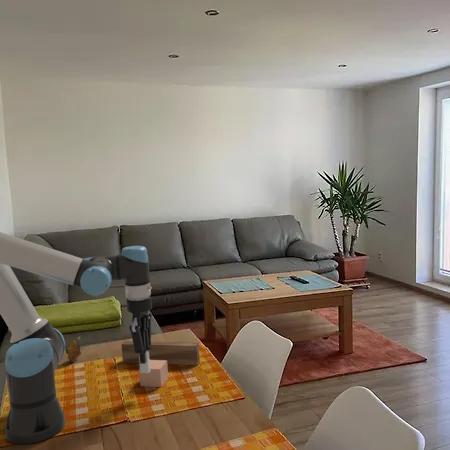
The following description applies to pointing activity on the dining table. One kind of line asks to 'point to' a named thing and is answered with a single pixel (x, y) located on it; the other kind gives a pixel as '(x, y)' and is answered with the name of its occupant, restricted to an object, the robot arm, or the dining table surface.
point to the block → (155, 374)
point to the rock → (73, 350)
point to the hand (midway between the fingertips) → (145, 371)
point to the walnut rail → (164, 352)
